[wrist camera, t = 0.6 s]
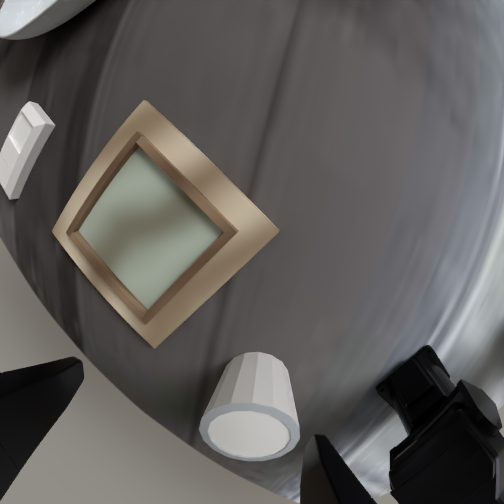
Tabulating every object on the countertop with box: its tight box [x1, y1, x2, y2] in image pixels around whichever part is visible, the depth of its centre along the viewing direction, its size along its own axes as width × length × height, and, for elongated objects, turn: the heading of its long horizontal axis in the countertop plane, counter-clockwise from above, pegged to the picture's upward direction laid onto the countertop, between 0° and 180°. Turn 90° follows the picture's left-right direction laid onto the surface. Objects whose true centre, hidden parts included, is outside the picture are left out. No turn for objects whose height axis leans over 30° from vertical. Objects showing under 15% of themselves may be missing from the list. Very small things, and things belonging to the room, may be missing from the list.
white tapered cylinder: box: [199, 352, 300, 461], centre depth 19 cm, size 7×7×7 cm
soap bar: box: [0, 101, 55, 200], centre depth 19 cm, size 5×9×3 cm, turn 136°
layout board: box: [52, 100, 279, 349], centre depth 19 cm, size 14×14×2 cm
